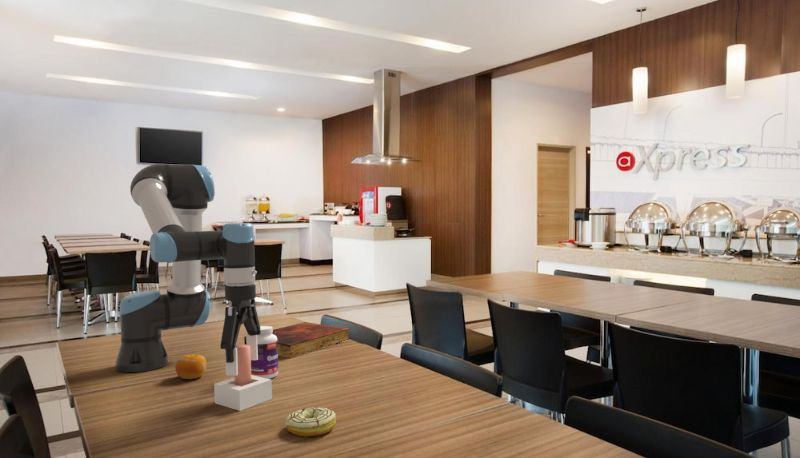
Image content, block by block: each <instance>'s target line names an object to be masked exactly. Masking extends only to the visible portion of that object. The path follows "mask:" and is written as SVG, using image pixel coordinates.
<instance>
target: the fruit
mask: <svg viewBox="0 0 800 458" xmlns="http://www.w3.org/2000/svg"><path fill="white" fill-rule="evenodd" d="M207 369H208V362H207V359H206V358H205V356H203V355H201V354H197V353H196V354H195V353H191V354H185V355H184V354H183V355H182V356H180V357H179V358H178V360H177V361H176V363H175V372H176V374H177V376H178V377H180V378H181V379H184V380H195V379H199V378H200V377H202V376H203V375H205V373H206V371H207Z"/></svg>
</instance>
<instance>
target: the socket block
mask: <svg viewBox="0 0 800 458" xmlns="http://www.w3.org/2000/svg"><path fill="white" fill-rule="evenodd" d="M272 385H273V383H272V378H270V379H267V378H262V377H258V376H254V375H251V383H250V384H247V385H244V386H237V385H235V376H234V377H231V378H228V379H225V380H222V381H218V382H215V383H214V384H213V386H214V387H213V388H214V404H216V405H219V406H222V407H226V408H230V409H233V410H237V411H239V412H241V411H244V410H246V409H249V408H252V407H254V406H258V405H260V404H263V403H265V402H269V401H270V400H272V399H273V386H272Z"/></svg>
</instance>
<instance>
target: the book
mask: <svg viewBox="0 0 800 458" xmlns="http://www.w3.org/2000/svg"><path fill="white" fill-rule="evenodd" d="M350 330H351V328H350V327H344V326H342V327H341V326H334V325H327V324H323V323H321V324H319V323H313V322H306V321H304V322H300V323H297V324H292V325H288V326H284V327H280V328H275V329H273V332H272V334H274V335H275V336H276V337H277V344H278V357H283V358H287V359H293V358H296V357H299V356H302V355H307V354H308V353H309V352H310V353H313V352H315V350H316V351H319V350H318V349H320V350H322V349H321V348H323V347H326V348H328V347H327V346H330V345H333V344H336V343H339V342H342V341H345V340H349V341H350V336H349V335H350V332H349V331H350ZM246 336H247V335H245V336H244V337H243V339H244V340H243V341H244V344H243V345H247V343H246ZM339 344H340V343H339ZM336 345H337V344H336ZM333 346H334V345H333ZM330 347H331V346H330ZM323 349H324V348H323ZM312 351H313V352H312ZM306 353H307V354H306Z"/></svg>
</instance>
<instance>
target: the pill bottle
mask: <svg viewBox="0 0 800 458" xmlns="http://www.w3.org/2000/svg"><path fill="white" fill-rule="evenodd" d="M273 330H274V328H273V326H271V325H270V326H269V325H260V331H261V334H260V335H257V347H258V360H251V375H254V376H258V377H262V378H267V379H273V378H275V377H277V376H278V374H279V356H278V344H277V337H276V336H275V335H274V334H272V332H273Z"/></svg>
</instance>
